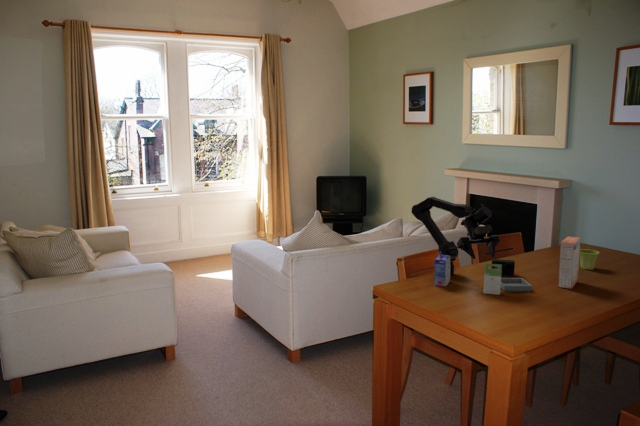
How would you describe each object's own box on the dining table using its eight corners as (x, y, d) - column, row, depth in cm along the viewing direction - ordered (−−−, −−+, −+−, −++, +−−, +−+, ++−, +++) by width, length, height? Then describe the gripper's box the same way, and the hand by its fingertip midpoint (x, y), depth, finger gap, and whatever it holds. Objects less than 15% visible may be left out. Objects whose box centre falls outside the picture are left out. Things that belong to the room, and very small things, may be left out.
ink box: (500, 292, 235) (502, 262, 232) (500, 295, 231) (501, 264, 229) (483, 291, 237) (485, 261, 235) (483, 293, 233) (484, 263, 231)
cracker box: (563, 279, 253) (567, 235, 250) (578, 281, 250) (581, 237, 246) (557, 287, 242) (560, 241, 238) (571, 289, 238) (575, 242, 235)
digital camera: (491, 275, 261) (491, 261, 260) (491, 272, 266) (491, 258, 265) (514, 277, 258) (514, 262, 256) (513, 274, 263) (514, 260, 262)
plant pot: (601, 269, 271) (603, 252, 270) (591, 271, 266) (592, 254, 265) (583, 265, 279) (584, 248, 277) (573, 267, 274) (574, 250, 272)
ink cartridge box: (438, 279, 254) (439, 249, 252) (450, 281, 252) (451, 250, 250) (433, 285, 245) (434, 254, 243) (445, 286, 243) (446, 255, 241)
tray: (504, 291, 236) (504, 286, 235) (495, 283, 248) (495, 278, 247) (531, 291, 236) (532, 285, 235) (521, 283, 248) (522, 278, 247)
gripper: (460, 219, 239) (471, 249, 231) (499, 217, 243) (511, 247, 234) (452, 233, 248) (462, 263, 239) (489, 231, 252) (500, 260, 243)
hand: (484, 258), depth 239 cm, fingers open, 9 cm apart
